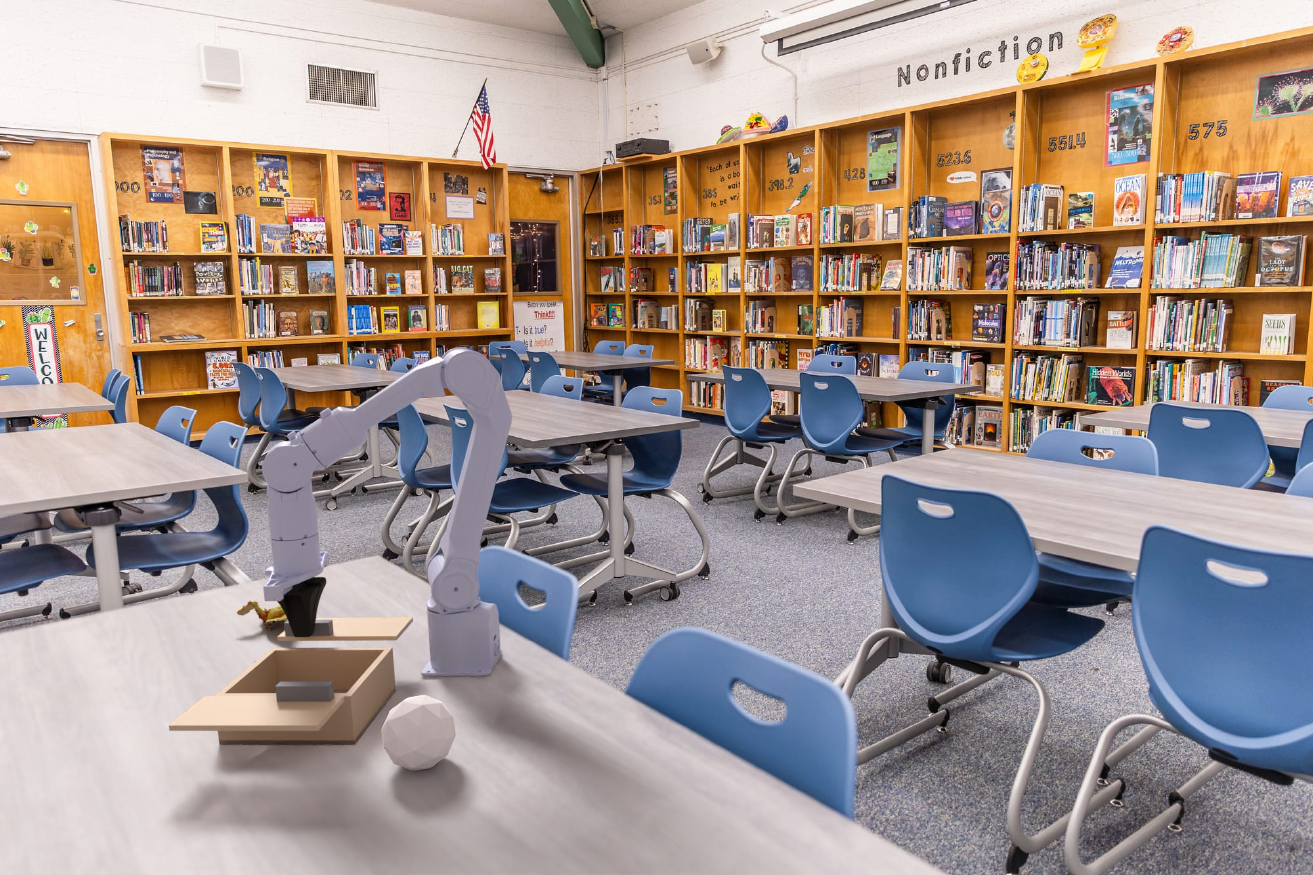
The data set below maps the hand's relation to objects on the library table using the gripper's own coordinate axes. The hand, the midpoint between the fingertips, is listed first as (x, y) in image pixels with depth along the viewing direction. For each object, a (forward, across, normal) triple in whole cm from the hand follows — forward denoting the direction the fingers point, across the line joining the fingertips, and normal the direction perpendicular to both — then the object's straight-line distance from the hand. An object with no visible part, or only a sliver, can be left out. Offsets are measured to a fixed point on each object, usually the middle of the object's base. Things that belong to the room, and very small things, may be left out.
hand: (303, 635), depth 114 cm
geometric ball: (+8, +19, +21) cm, 29 cm away
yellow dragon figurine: (+8, -22, -15) cm, 28 cm away
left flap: (+1, +20, +4) cm, 20 cm away
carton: (+7, +8, +4) cm, 11 cm away
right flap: (+1, -4, +4) cm, 6 cm away
